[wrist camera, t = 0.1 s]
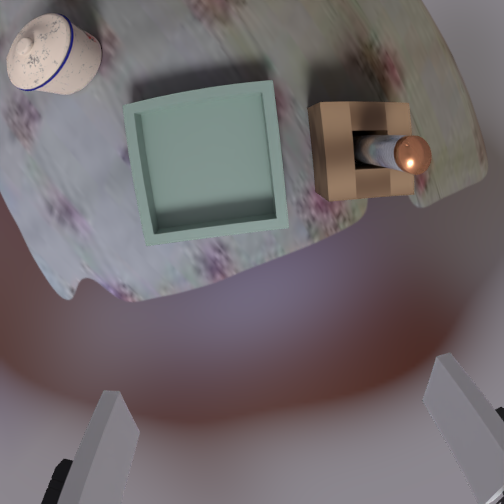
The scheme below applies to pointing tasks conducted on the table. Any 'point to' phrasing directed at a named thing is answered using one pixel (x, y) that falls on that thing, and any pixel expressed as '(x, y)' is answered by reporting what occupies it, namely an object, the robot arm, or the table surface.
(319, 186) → the block
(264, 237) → the table surface
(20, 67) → the teacup with lid
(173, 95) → the tray
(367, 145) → the pin
